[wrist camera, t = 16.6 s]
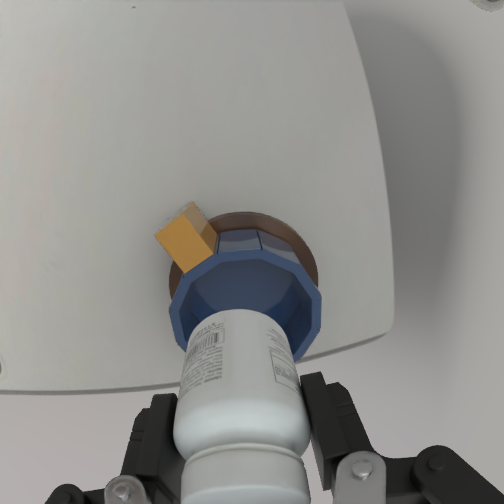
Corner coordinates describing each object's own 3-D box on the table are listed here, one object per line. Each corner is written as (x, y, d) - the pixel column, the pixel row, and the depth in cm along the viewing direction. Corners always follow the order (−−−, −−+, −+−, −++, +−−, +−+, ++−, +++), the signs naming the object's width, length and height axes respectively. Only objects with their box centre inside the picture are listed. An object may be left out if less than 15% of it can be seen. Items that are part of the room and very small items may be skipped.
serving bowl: (328, 301, 29) (345, 332, 24) (230, 359, 31) (231, 395, 26) (237, 168, 25) (238, 173, 20) (131, 247, 26) (110, 270, 21)
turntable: (306, 199, 27) (309, 201, 26) (320, 328, 32) (323, 335, 31) (154, 228, 27) (151, 231, 26) (192, 351, 32) (191, 358, 31)
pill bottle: (187, 380, 14) (169, 528, 6) (189, 300, 12) (152, 470, 5) (278, 386, 14) (305, 529, 7) (296, 309, 13) (354, 471, 5)
